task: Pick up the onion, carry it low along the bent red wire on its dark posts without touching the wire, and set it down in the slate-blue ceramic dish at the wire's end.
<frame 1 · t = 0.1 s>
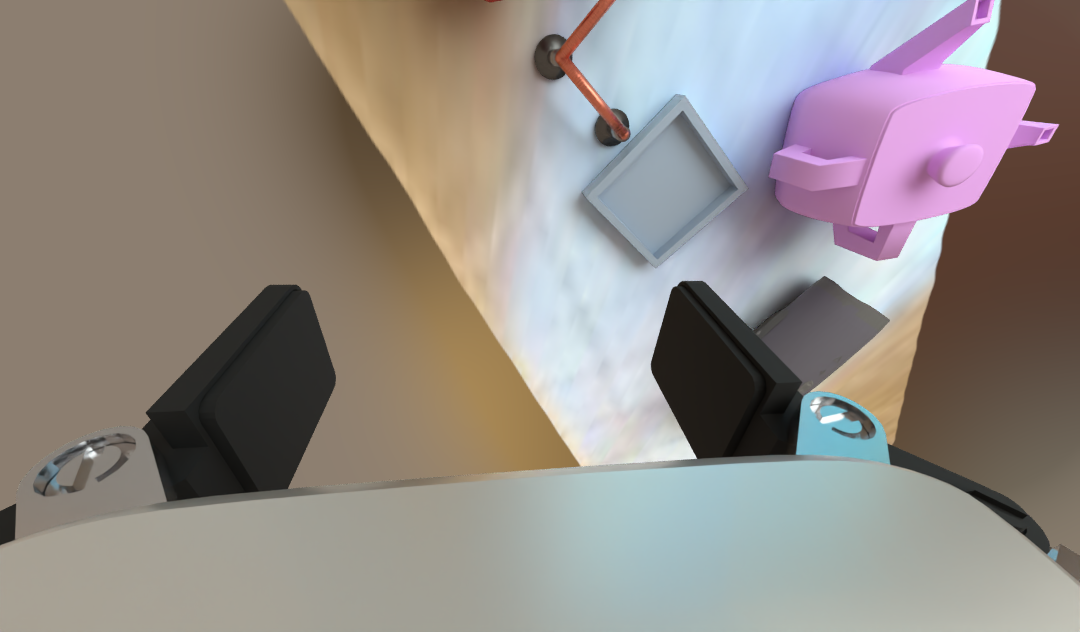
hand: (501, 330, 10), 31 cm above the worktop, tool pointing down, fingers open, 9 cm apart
bluetooth speaker: (756, 337, 55), on the worktop
teakettle: (846, 132, 40), on the worktop
dish: (661, 187, 41), on the worktop
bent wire: (595, 4, 31), on the worktop
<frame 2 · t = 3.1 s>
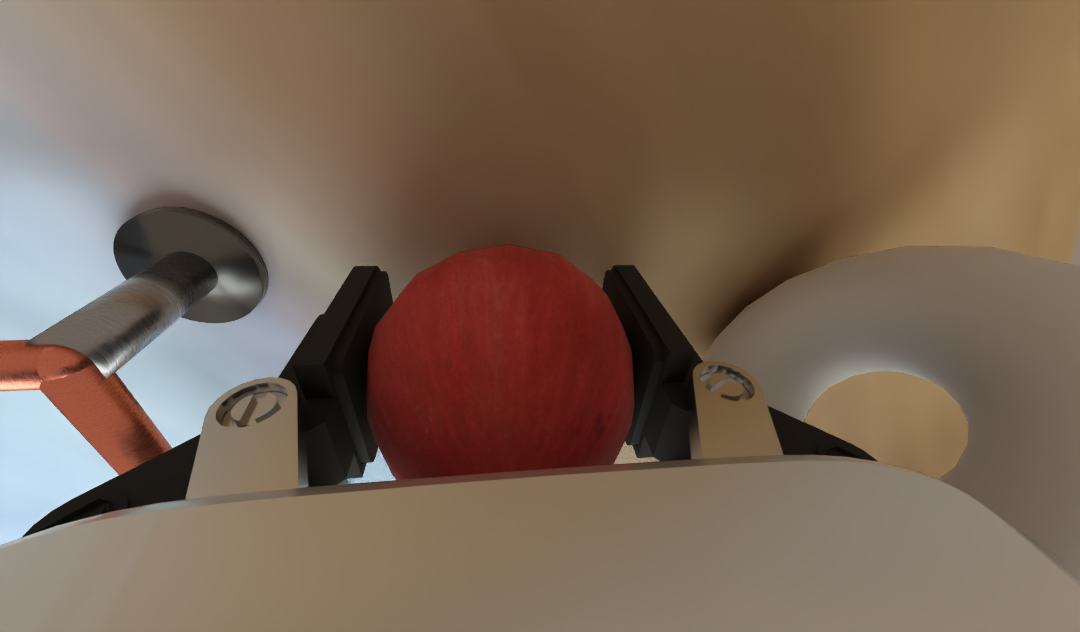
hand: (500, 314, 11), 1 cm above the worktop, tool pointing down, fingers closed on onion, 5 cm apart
donut: (751, 311, 14), on the worktop
onion: (499, 290, 12), on the worktop, touching gripper
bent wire: (264, 398, 13), on the worktop
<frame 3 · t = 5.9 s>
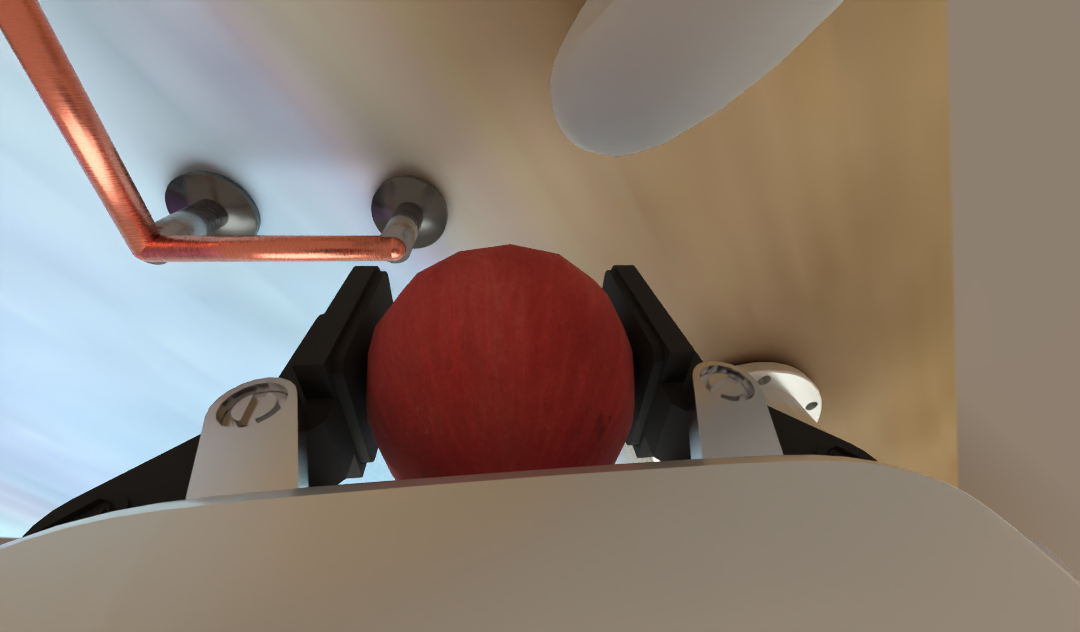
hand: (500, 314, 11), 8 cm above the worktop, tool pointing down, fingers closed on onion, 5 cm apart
donut: (633, 1, 14), on the worktop
onion: (499, 290, 12), point 7 cm above the worktop, touching gripper
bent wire: (158, 71, 14), on the worktop
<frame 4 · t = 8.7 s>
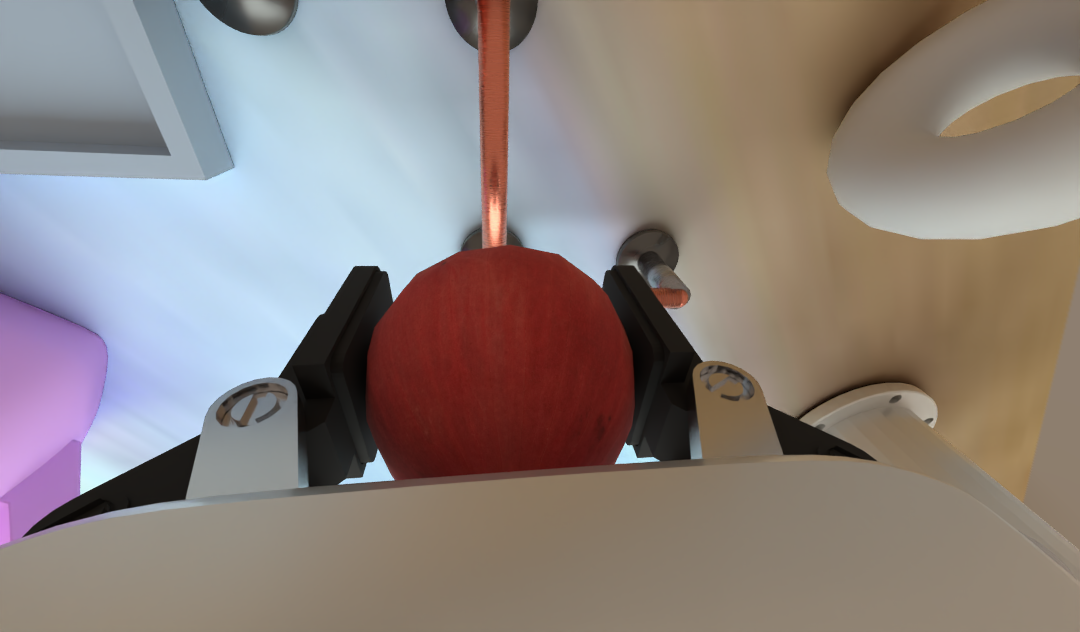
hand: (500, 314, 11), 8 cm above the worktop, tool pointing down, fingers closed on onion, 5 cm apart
donut: (874, 94, 17), on the worktop
onion: (499, 290, 12), point 7 cm above the worktop, touching gripper
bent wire: (492, 150, 16), on the worktop
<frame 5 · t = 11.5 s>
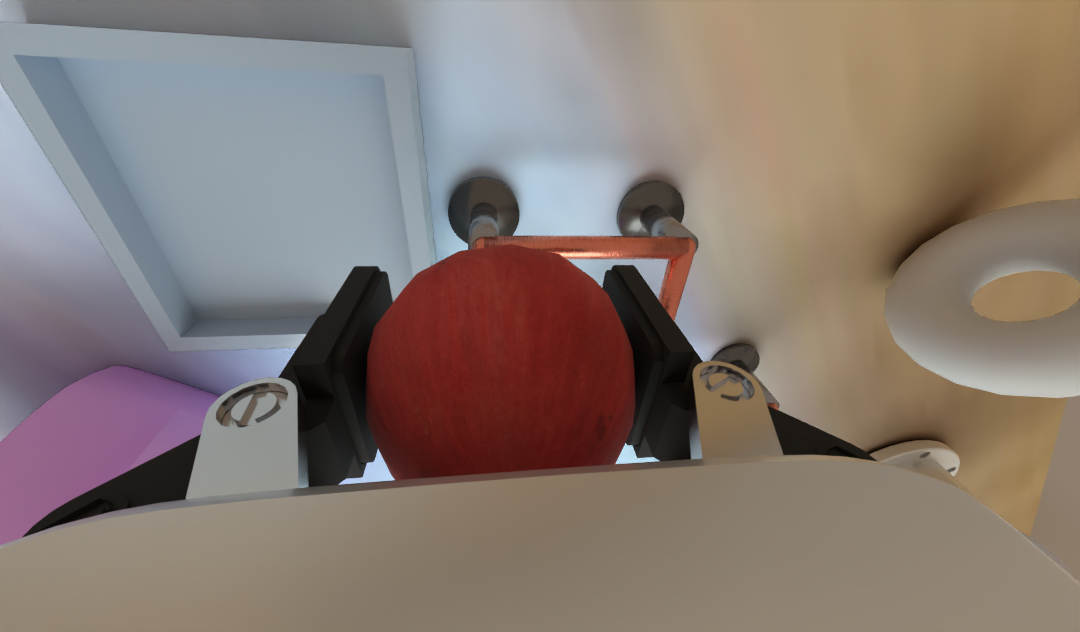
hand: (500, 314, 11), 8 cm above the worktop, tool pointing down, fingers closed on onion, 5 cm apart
teakettle: (198, 462, 25), on the worktop
dish: (286, 210, 17), on the worktop
donut: (918, 249, 22), on the worktop
onion: (499, 290, 12), point 7 cm above the worktop, touching gripper
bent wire: (630, 300, 21), on the worktop
when the fingers open (3 cm above the worktop, at t = 14.2 s): onion drops 1 cm, resting on dish.
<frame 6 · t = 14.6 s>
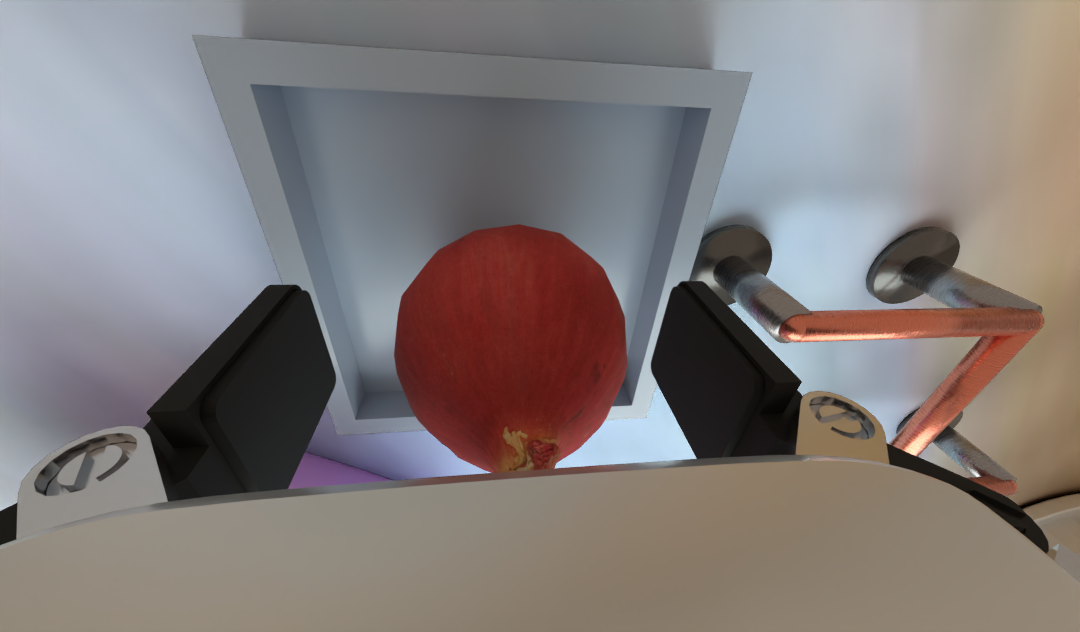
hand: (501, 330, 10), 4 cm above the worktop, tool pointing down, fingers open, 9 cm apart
teakettle: (314, 534, 22), on the worktop
dish: (497, 266, 13), on the worktop
onion: (506, 272, 13), resting on dish
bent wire: (845, 359, 18), on the worktop
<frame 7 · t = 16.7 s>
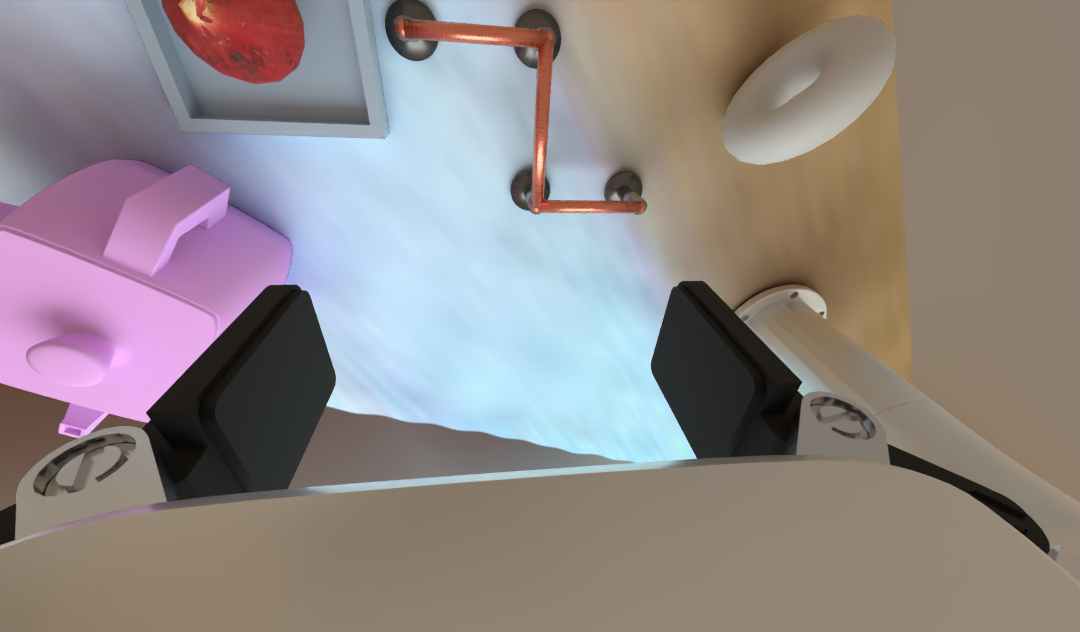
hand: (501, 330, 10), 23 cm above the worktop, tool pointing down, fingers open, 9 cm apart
teakettle: (200, 270, 31), on the worktop
dish: (266, 19, 23), on the worktop
donut: (750, 88, 30), on the worktop
onion: (270, 21, 23), resting on dish
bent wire: (532, 122, 29), on the worktop
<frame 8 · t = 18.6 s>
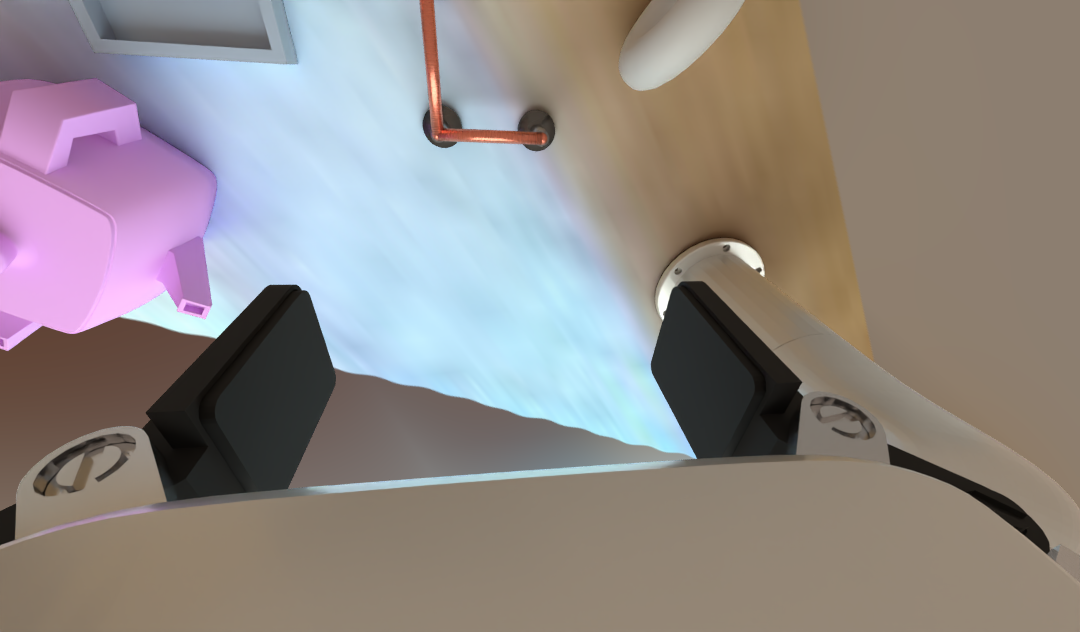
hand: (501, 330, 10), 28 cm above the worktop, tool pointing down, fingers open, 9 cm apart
teakettle: (132, 201, 33), on the worktop
donut: (653, 24, 30), on the worktop
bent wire: (437, 55, 30), on the worktop
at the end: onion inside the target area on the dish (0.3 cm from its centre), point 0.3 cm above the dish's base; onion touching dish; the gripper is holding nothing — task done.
